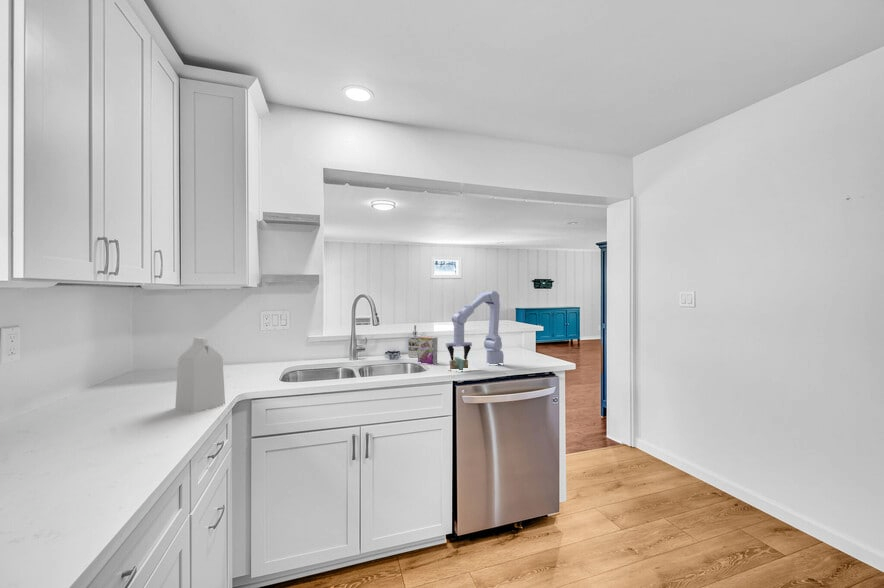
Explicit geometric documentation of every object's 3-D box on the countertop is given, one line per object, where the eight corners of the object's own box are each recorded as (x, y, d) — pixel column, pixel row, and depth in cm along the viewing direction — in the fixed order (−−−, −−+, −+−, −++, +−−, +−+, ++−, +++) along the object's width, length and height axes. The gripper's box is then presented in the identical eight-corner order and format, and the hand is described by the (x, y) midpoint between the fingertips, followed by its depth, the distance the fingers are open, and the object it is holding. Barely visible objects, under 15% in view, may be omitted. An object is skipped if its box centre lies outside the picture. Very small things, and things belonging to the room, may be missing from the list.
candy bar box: (417, 363, 225) (417, 336, 224) (422, 362, 229) (422, 335, 229) (433, 366, 219) (433, 338, 218) (437, 364, 223) (437, 337, 223)
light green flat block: (457, 367, 211) (457, 356, 211) (463, 371, 202) (463, 360, 202) (454, 367, 211) (454, 357, 211) (460, 371, 201) (460, 360, 201)
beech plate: (466, 368, 208) (466, 359, 208) (467, 369, 207) (467, 360, 207) (449, 369, 206) (449, 360, 205) (450, 370, 204) (450, 361, 204)
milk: (175, 408, 140) (175, 338, 140) (206, 400, 150) (206, 335, 150) (193, 413, 134) (193, 341, 134) (225, 404, 145) (225, 337, 144)
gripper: (448, 336, 200) (448, 361, 200) (474, 335, 204) (473, 360, 204) (444, 334, 207) (444, 359, 207) (469, 333, 211) (469, 358, 211)
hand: (458, 359), depth 206 cm, fingers open, 7 cm apart
